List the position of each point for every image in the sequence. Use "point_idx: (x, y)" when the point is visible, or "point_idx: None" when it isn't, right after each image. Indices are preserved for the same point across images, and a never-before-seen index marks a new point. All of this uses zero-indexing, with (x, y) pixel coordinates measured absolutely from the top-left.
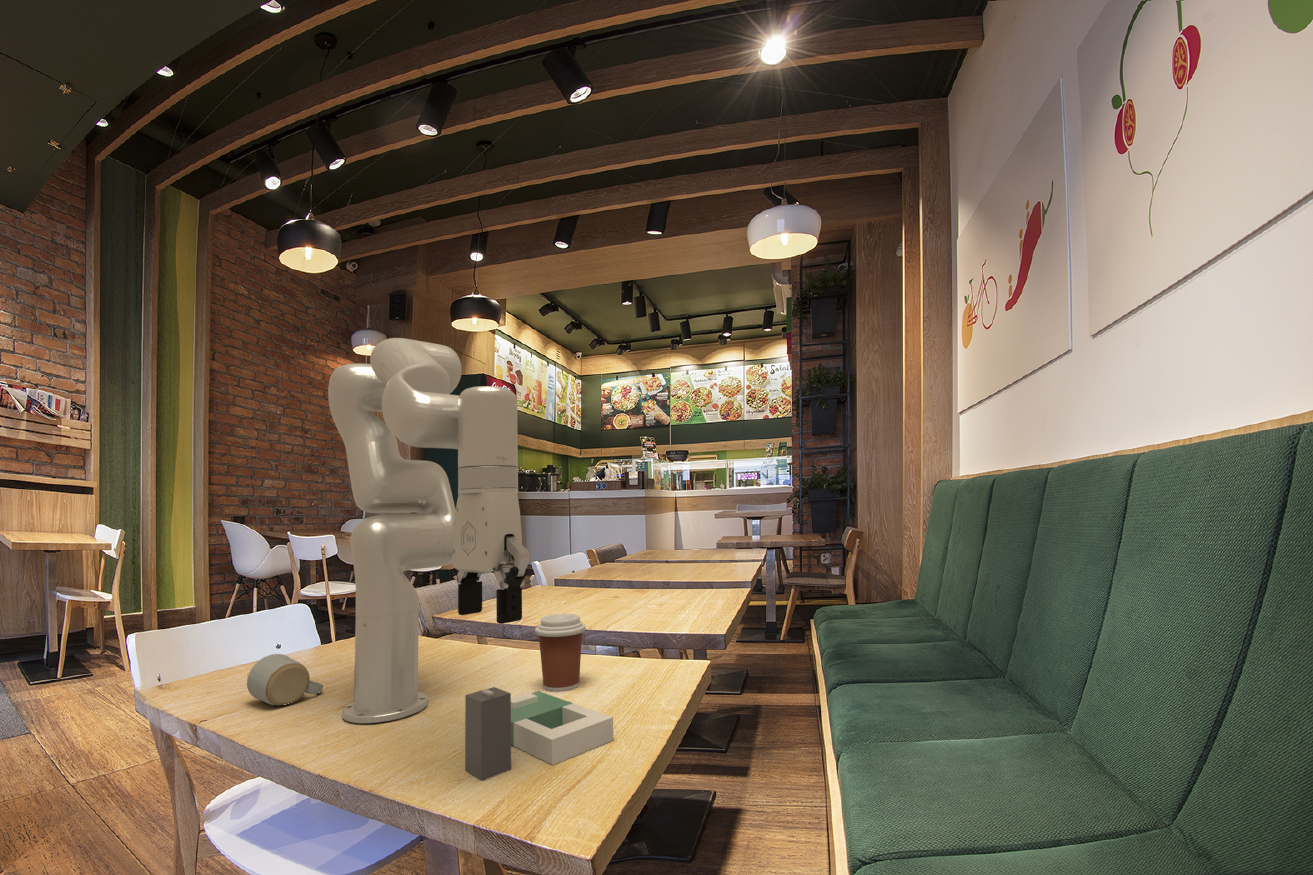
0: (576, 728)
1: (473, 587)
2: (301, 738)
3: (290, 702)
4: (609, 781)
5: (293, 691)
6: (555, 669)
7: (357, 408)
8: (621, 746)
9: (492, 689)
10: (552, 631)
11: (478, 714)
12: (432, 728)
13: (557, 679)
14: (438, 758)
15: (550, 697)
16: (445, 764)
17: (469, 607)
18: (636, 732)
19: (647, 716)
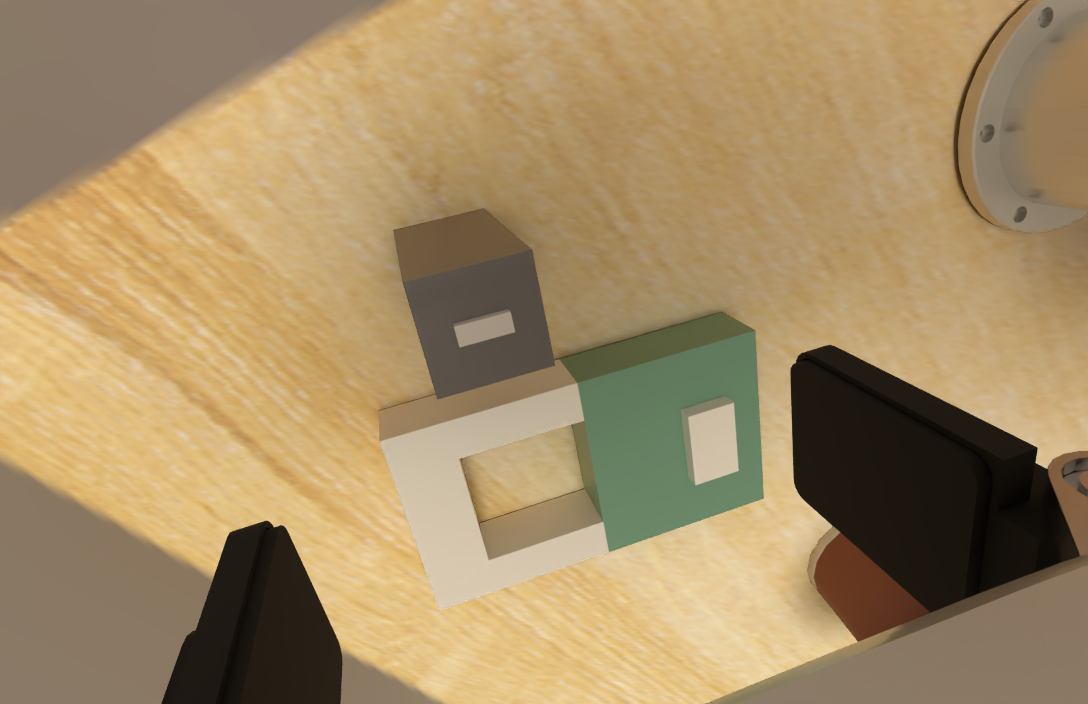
0: (420, 515)
1: (937, 549)
2: None
3: None
4: (203, 499)
5: None
6: (863, 573)
7: None
8: (387, 575)
9: (528, 353)
10: None
11: (420, 264)
12: (826, 199)
13: (841, 558)
14: (612, 164)
15: (693, 512)
16: (560, 171)
17: (818, 431)
18: (446, 624)
19: (521, 668)
